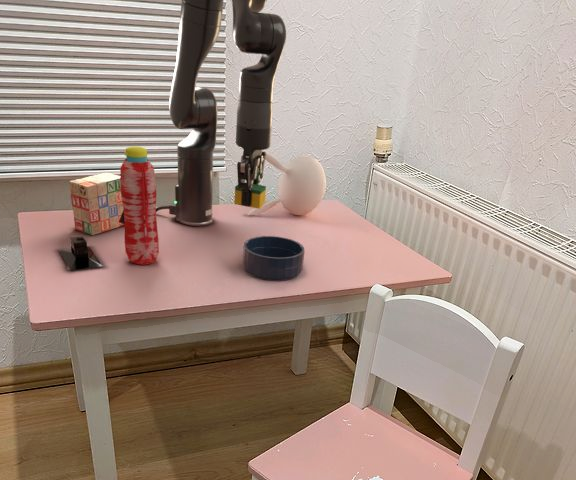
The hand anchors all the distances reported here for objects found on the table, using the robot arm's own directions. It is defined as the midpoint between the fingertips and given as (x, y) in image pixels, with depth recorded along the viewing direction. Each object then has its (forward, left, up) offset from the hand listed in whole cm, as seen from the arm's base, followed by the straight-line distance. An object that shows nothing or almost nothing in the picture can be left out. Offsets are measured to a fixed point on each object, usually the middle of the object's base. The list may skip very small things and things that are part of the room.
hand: (249, 202), depth 133 cm
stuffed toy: (0, +39, -14) cm, 41 cm away
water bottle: (-23, -11, -14) cm, 29 cm away
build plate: (-34, -17, -14) cm, 41 cm away
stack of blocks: (-40, +8, -14) cm, 43 cm away
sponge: (0, 0, 0) cm, 0 cm away
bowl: (+7, -3, -14) cm, 16 cm away
